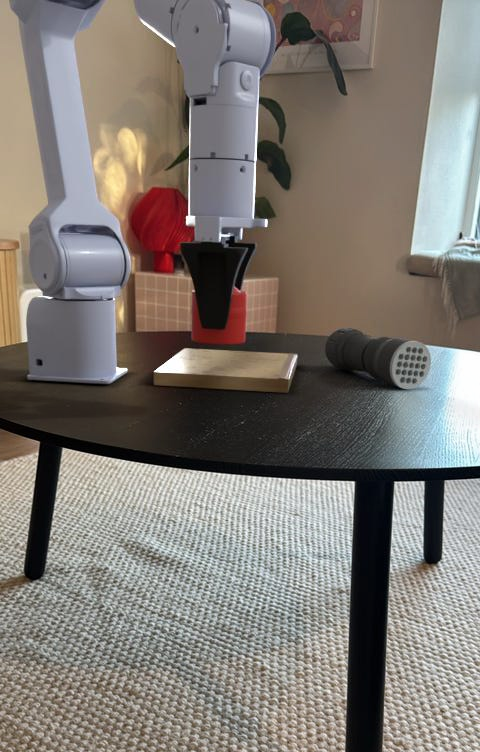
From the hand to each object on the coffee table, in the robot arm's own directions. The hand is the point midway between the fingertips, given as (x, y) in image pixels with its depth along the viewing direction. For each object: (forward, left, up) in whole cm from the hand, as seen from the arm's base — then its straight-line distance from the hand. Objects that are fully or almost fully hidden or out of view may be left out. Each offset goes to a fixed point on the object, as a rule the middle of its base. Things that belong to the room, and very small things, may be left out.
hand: (218, 325), depth 69 cm
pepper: (0, 0, -1) cm, 1 cm away
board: (-1, +21, -8) cm, 22 cm away
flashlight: (+16, +24, -9) cm, 30 cm away
